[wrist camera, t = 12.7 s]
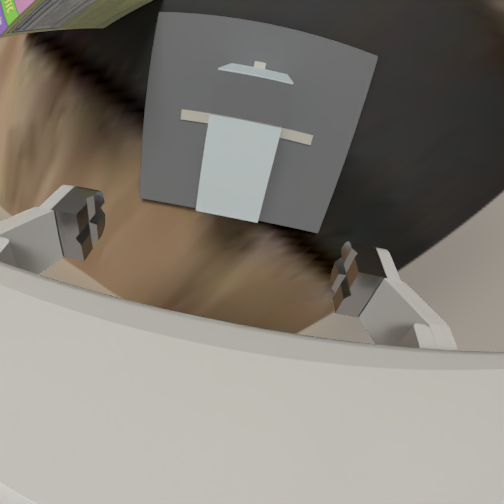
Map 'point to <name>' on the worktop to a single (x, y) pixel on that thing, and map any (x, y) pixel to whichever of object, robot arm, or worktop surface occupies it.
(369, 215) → the worktop surface
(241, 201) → the block
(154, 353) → the robot arm
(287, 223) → the mat
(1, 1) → the box
